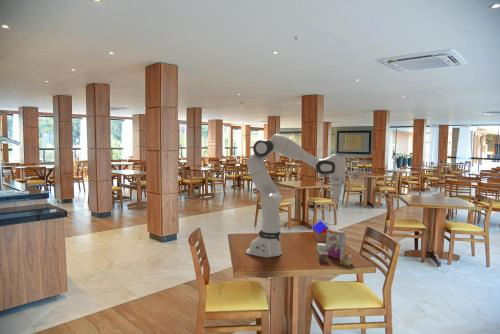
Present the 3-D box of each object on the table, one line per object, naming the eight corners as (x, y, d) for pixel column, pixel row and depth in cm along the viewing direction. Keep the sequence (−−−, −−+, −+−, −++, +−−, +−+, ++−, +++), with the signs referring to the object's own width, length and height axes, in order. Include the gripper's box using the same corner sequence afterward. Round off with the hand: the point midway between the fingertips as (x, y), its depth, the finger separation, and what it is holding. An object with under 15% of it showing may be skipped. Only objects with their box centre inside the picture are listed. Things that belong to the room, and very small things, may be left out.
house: (318, 243, 241) (318, 226, 240) (312, 235, 261) (312, 220, 260) (335, 243, 241) (335, 226, 241) (327, 235, 261) (328, 220, 261)
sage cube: (319, 253, 218) (319, 245, 217) (316, 250, 223) (316, 243, 222) (326, 253, 218) (326, 245, 218) (324, 250, 223) (324, 243, 223)
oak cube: (340, 264, 197) (340, 255, 197) (343, 262, 202) (343, 253, 201) (348, 266, 195) (348, 257, 194) (351, 263, 199) (351, 255, 198)
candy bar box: (325, 255, 214) (326, 229, 213) (330, 253, 217) (331, 228, 216) (339, 260, 205) (340, 233, 204) (344, 258, 208) (345, 231, 207)
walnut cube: (318, 262, 200) (319, 254, 200) (318, 259, 205) (318, 251, 205) (327, 263, 199) (327, 254, 199) (327, 260, 204) (327, 251, 204)
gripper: (334, 178, 221) (333, 200, 222) (330, 181, 201) (330, 205, 202) (344, 179, 219) (343, 200, 219) (341, 182, 199) (341, 205, 200)
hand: (337, 202), depth 211 cm, fingers open, 7 cm apart
